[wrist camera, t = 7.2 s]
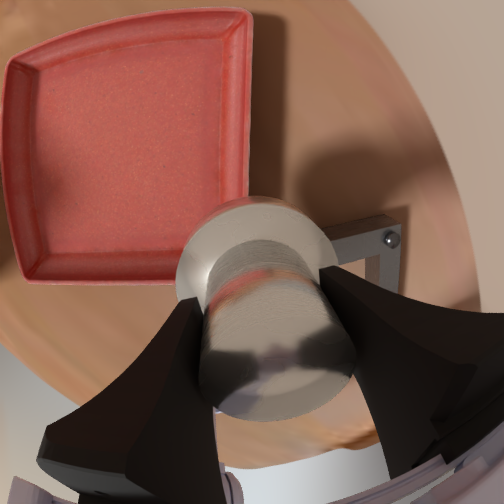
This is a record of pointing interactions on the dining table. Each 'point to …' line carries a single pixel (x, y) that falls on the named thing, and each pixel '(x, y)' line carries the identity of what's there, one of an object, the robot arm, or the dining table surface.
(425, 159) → the dining table surface
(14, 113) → the plant saucer
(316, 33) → the dining table surface
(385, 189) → the dining table surface
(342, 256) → the bore housing
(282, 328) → the end cover
